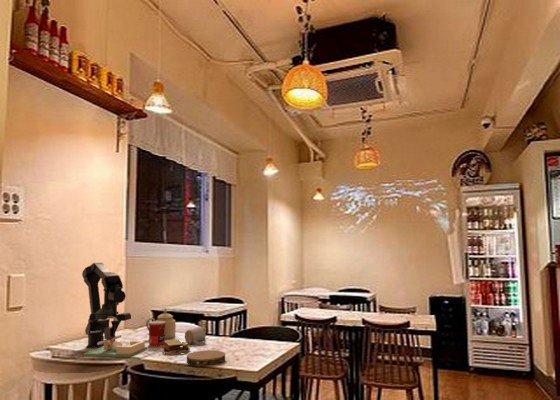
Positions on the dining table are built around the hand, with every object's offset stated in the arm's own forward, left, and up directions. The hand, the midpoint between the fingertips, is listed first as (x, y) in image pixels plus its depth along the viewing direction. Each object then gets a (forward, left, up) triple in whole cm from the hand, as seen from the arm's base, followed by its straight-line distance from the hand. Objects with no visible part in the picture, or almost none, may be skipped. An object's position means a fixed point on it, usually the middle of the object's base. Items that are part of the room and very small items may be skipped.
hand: (109, 335), depth 209 cm
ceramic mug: (+33, +23, -8) cm, 42 cm away
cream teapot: (+9, +35, -8) cm, 37 cm away
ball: (+4, 0, -4) cm, 6 cm away
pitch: (+4, 0, -8) cm, 8 cm away
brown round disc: (+52, -9, -8) cm, 53 cm away
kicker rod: (0, 0, -6) cm, 6 cm away
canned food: (+15, +18, -8) cm, 24 cm away
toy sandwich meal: (+31, +5, -8) cm, 32 cm away
